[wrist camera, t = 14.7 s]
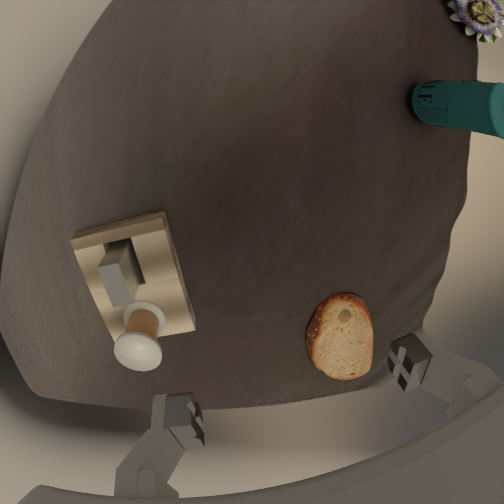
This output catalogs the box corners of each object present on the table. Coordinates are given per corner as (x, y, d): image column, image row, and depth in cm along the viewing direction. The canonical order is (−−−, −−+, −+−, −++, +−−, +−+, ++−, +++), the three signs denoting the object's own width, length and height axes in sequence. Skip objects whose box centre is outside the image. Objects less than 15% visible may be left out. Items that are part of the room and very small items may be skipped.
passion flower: (432, 22, 31) (438, -16, 21) (456, -5, 27) (464, -41, 16) (484, 63, 29) (503, 33, 19) (505, 33, 25) (524, 3, 14)
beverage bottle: (435, 128, 35) (547, 156, 17) (401, 120, 34) (523, 143, 16) (436, 86, 32) (549, 97, 14) (403, 75, 31) (524, 74, 13)
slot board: (78, 231, 33) (70, 240, 31) (165, 209, 34) (161, 217, 32) (119, 329, 40) (115, 342, 38) (195, 317, 41) (195, 330, 39)
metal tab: (115, 237, 35) (97, 267, 28) (133, 233, 35) (118, 263, 28) (126, 272, 37) (112, 307, 30) (144, 269, 37) (133, 304, 30)
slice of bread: (356, 375, 54) (363, 388, 51) (278, 369, 49) (283, 385, 46) (405, 304, 48) (416, 316, 45) (326, 284, 43) (336, 298, 40)
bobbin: (118, 303, 35) (106, 339, 29) (158, 296, 36) (151, 332, 29) (133, 336, 38) (125, 373, 31) (171, 330, 38) (168, 368, 32)
